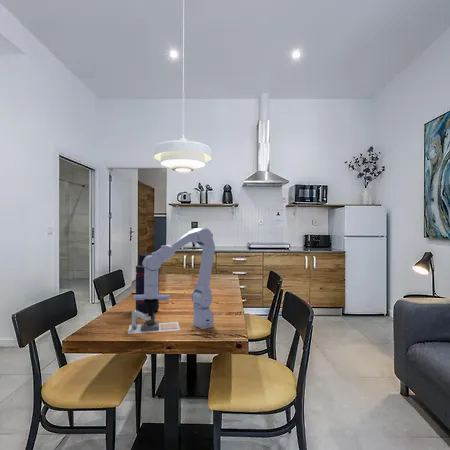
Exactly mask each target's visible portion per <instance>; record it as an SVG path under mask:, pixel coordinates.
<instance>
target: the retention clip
mask: <svg viewBox="0 0 450 450" xmlns="http://www.w3.org/2000/svg"><path fill="white" fill-rule="evenodd" d="M139 318H140V319H142V320H144V321H145V320H147V321H148V320H151V316H149V315H147V314H144V313H143V312H139V311H138V310H136V309H133V310H131V325H132V329H137V324H139V322H138V319H139Z"/></svg>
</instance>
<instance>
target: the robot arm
mask: <svg viewBox="0 0 450 450" xmlns="http://www.w3.org/2000/svg"><path fill="white" fill-rule="evenodd" d="M189 243H196V244H198V246H199V247H200V248H201V249H202V253H201V260H200V266H199V272H198V279H197V283H196V285H195V286H194V288H193V289H194V290H193V291H192V293H191V296H190V298H191V302H192V303H193V321H192V322H193V324H192V325H193V327H196V328H199V329H201V330H204V329H210V328H213V327H214V311H212V309H211V307H210V306H211V305H212V303H213V296H212V289H211V286H210V283H211V276H212V269H213V265H214V259H215V258H214V256H215V252H216V251H215V250H216V244H215V242H214V234H213V233H212V232H211V230H210V229H209V228H207V227H203V228H199V227H195V228H193V229H192V230H188V232H187V233H185V234H184V235H183V236H181V237H180V238H178V239H177V240H175V241H174V242H173V243H171V244H165V245H164V244H162V245H160V248H158V250H156V251H153V252H151V254H152V256H151V255H149V256H146V257H145V258H144V260H143V262H142V264H143V266H144V294H143V295H136V294H134V295H133V296H132V300H133V301H135V302H136V300H144V305H145V307H146V309H147V311H148V315H149V316H151V318H153V316H154V313H155V312H156V311H155V308H156V305H157V303H158V301H159V302H160V301H168V302H169V301H170V294H163V293H162V294H161V293H159V294H158V273H159V272H158V269H159V270H160V268H161V265H163V264H164V263H165V262H166V261H168V260H170V259H171V258H173V257H174V256H175V252H176V251H178V250H180V249H181V248H183V247H185V246H186V245H188V244H189Z"/></svg>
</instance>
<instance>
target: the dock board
mask: <svg viewBox="0 0 450 450" xmlns="http://www.w3.org/2000/svg"><path fill="white" fill-rule="evenodd" d="M172 323H176V324H177V329H164V330H161V324H172ZM176 331H177V332H178V331H181V329H180V324H179V322H178V321H172V322H171V321H170V322H159V321H158V320H157V321H156V320H155V326H145V321H143V322H141V323H140V324H139V323H137V329H132V324H129V327H128V329H127V335H130V334H131V335H132V334H147V333H161V332H163V333H164V332H176Z"/></svg>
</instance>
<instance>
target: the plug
mask: <svg viewBox="0 0 450 450" xmlns="http://www.w3.org/2000/svg"><path fill="white" fill-rule="evenodd" d="M146 314H147V315H148V313H146ZM155 314H156V313H155V312H154V316H153V318H151V320H148V321H147V320H144V322H145V326H155V322H156V315H155Z"/></svg>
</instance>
